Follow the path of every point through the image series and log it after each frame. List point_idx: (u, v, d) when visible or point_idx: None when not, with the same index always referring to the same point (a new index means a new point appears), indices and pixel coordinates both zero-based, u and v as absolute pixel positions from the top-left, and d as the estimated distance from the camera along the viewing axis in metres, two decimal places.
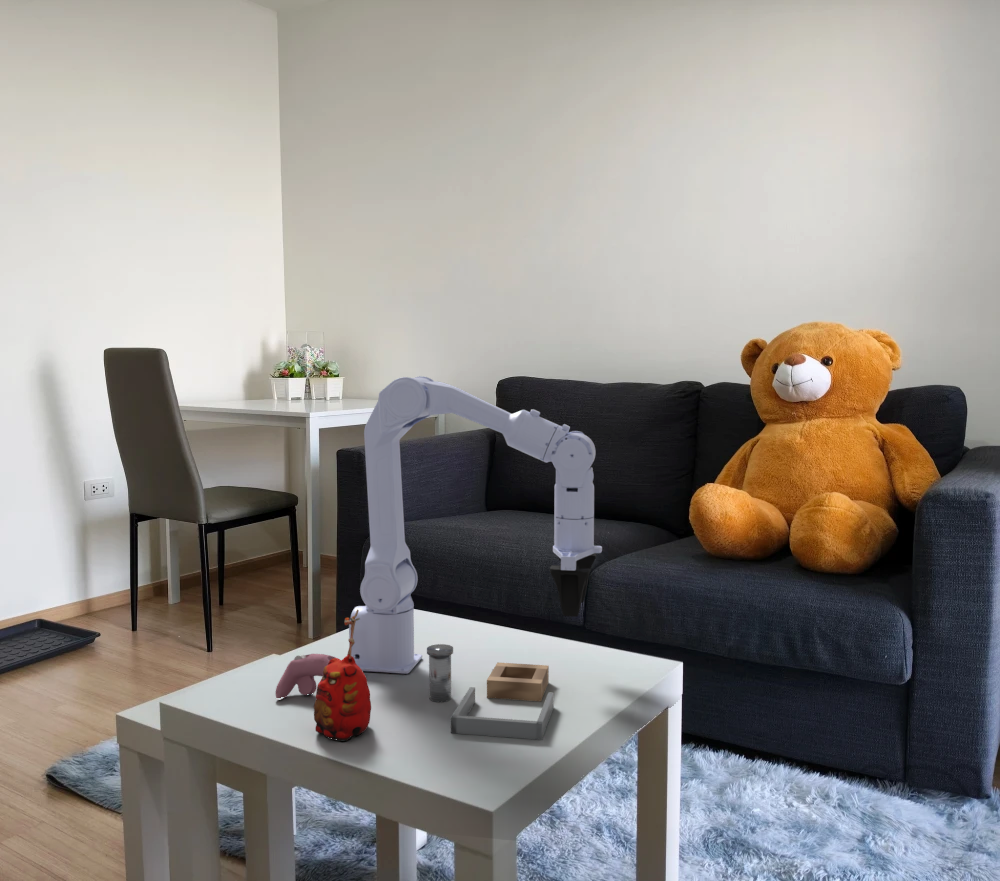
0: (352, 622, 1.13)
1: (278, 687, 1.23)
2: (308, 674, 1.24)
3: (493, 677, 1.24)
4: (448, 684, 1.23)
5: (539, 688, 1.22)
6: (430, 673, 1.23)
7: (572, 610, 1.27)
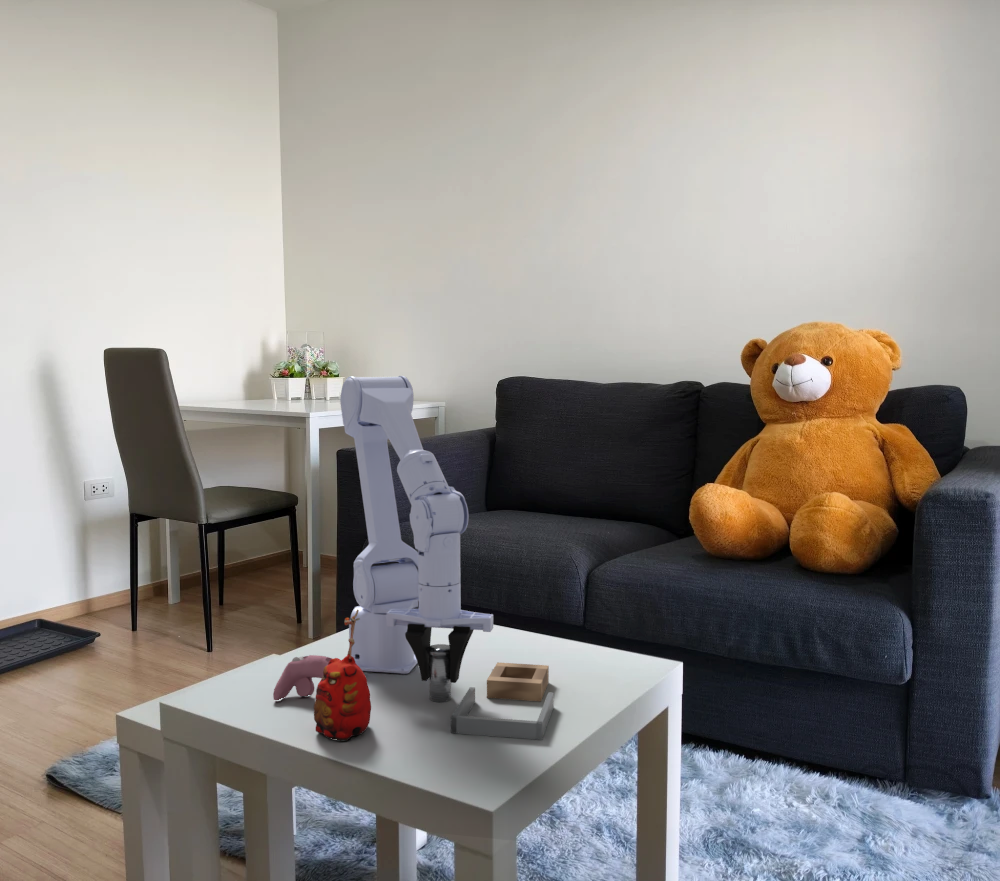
0: (352, 622, 1.13)
1: (276, 689, 1.22)
2: (306, 676, 1.24)
3: (493, 677, 1.24)
4: (448, 684, 1.22)
5: (539, 688, 1.22)
6: (430, 673, 1.23)
7: None
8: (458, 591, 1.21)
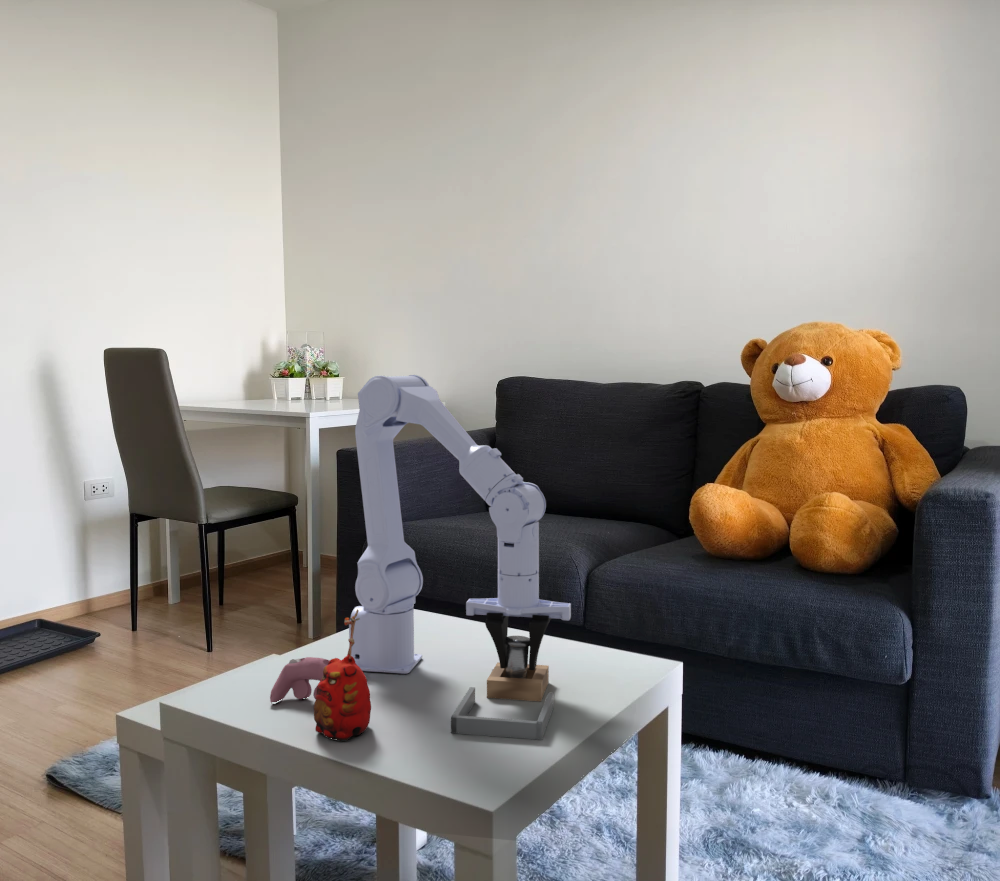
0: (352, 622, 1.13)
1: (273, 691, 1.21)
2: (303, 678, 1.23)
3: (493, 677, 1.24)
4: (525, 674, 1.25)
5: (539, 688, 1.22)
6: (507, 663, 1.25)
7: None
8: (537, 580, 1.24)
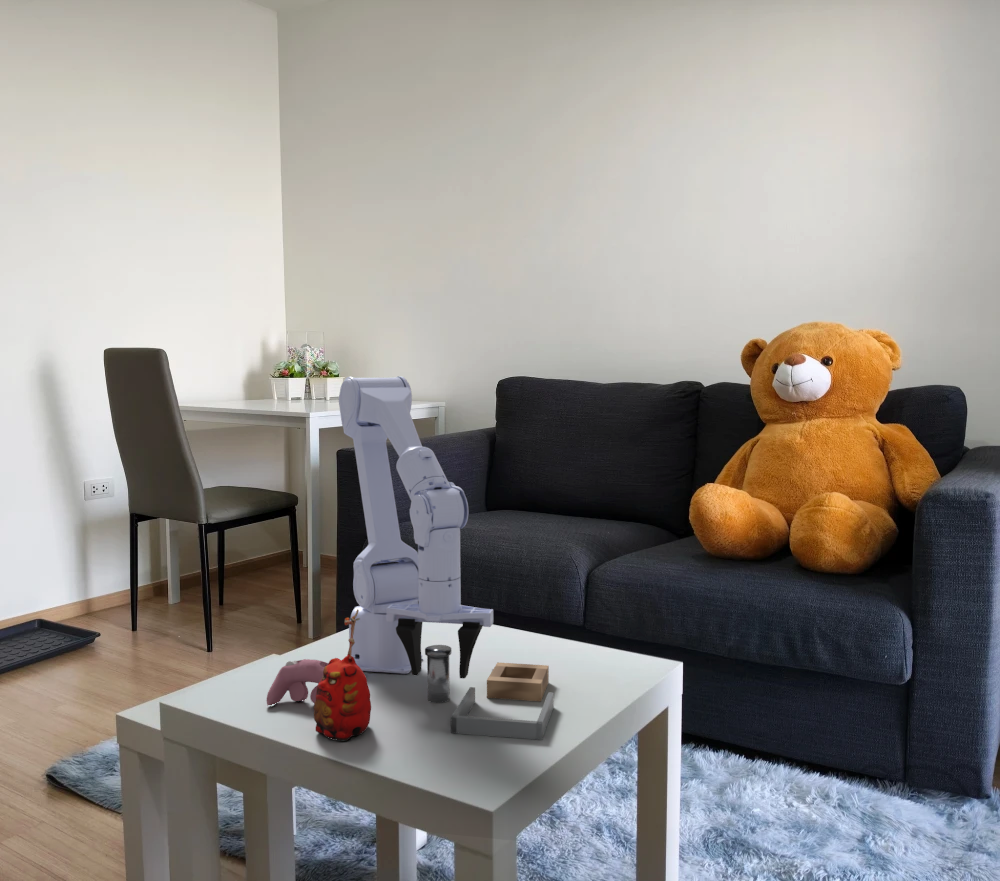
0: (352, 622, 1.13)
1: (269, 694, 1.20)
2: (300, 680, 1.22)
3: (493, 677, 1.24)
4: (446, 684, 1.22)
5: (539, 688, 1.22)
6: (428, 674, 1.22)
7: None
8: (458, 586, 1.21)
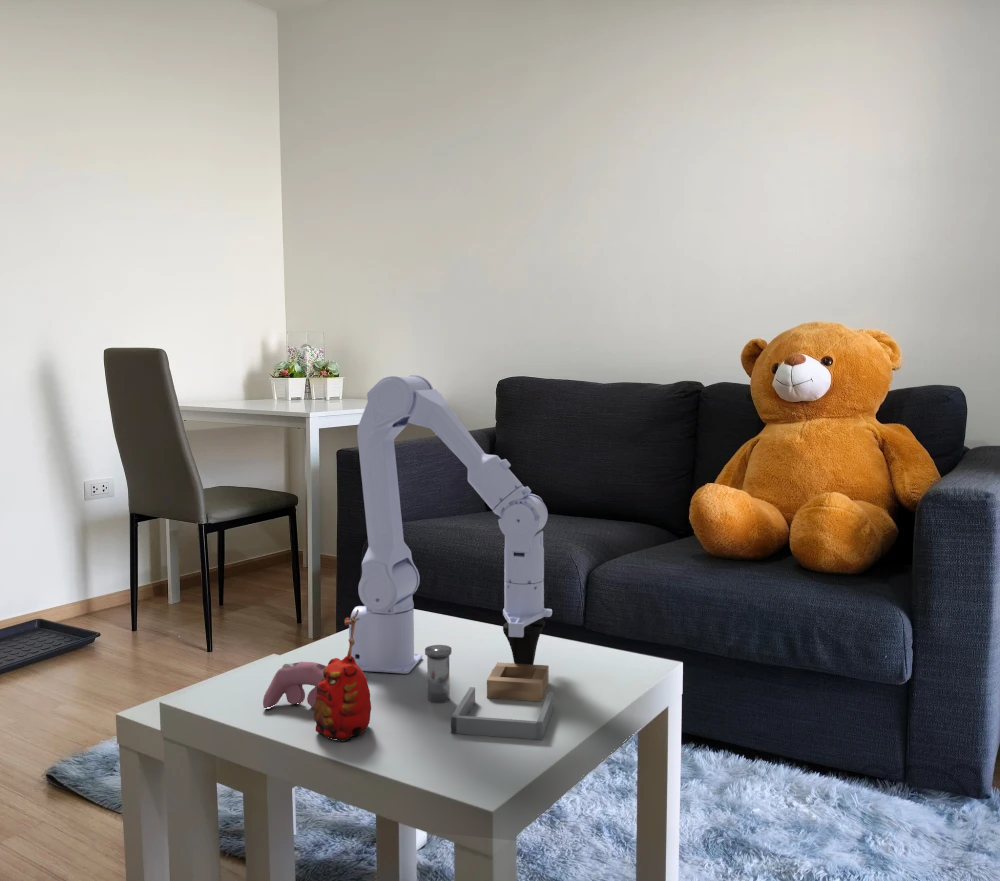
0: (352, 622, 1.13)
1: (266, 696, 1.19)
2: (296, 683, 1.21)
3: (493, 677, 1.24)
4: (446, 684, 1.22)
5: (539, 688, 1.22)
6: (428, 674, 1.22)
7: None
8: None
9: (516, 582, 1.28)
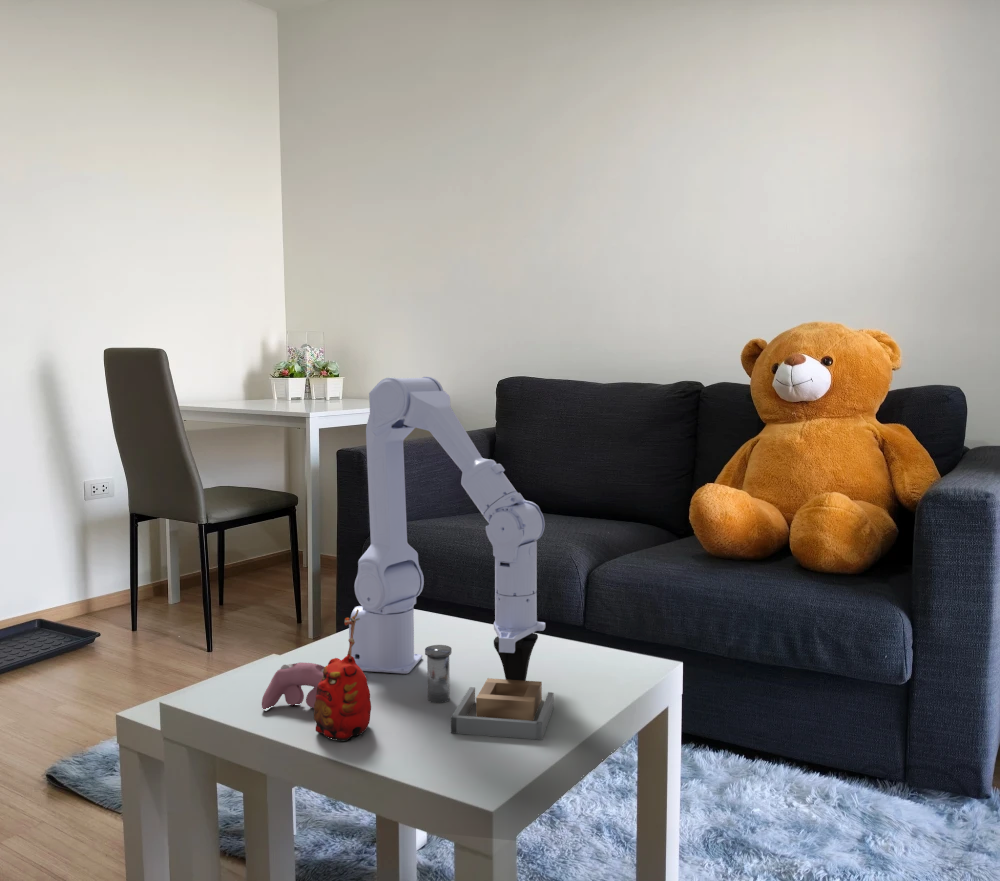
0: (352, 622, 1.13)
1: (264, 697, 1.19)
2: (295, 684, 1.21)
3: (483, 695, 1.18)
4: (446, 684, 1.22)
5: (531, 706, 1.15)
6: (428, 674, 1.22)
7: None
8: None
9: (502, 593, 1.21)
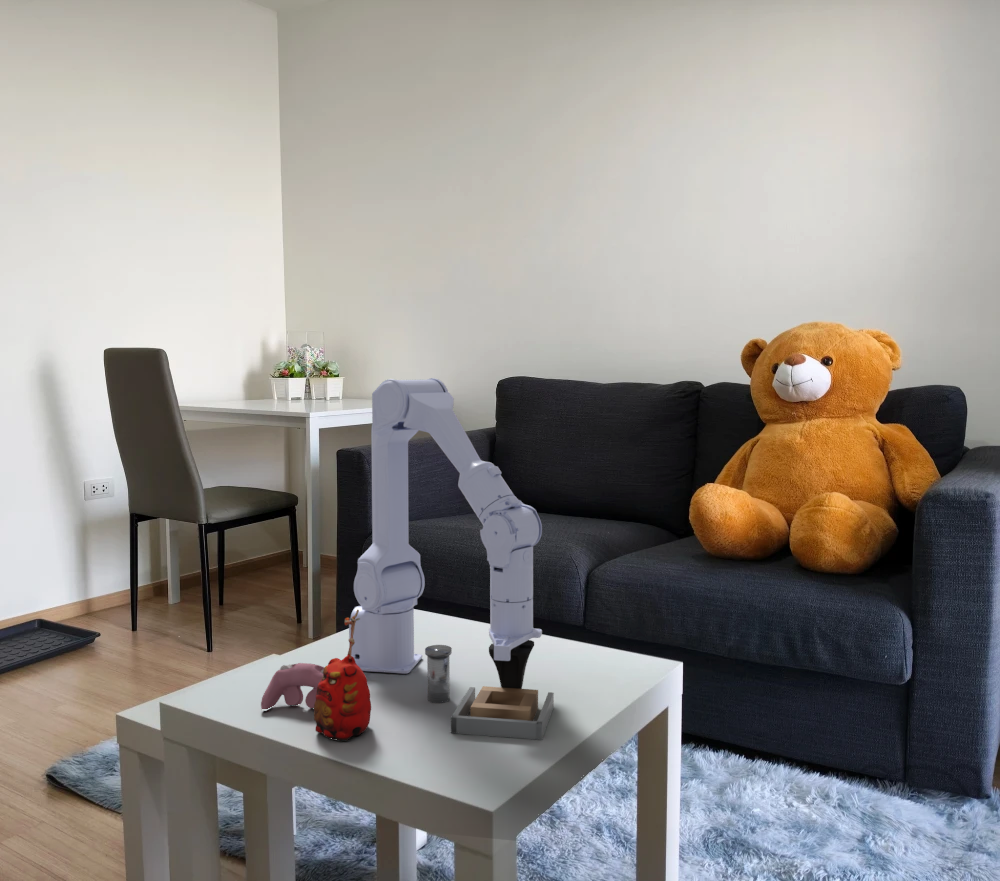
0: (352, 622, 1.13)
1: (264, 698, 1.19)
2: (295, 684, 1.20)
3: (478, 704, 1.15)
4: (446, 684, 1.22)
5: (527, 716, 1.12)
6: (428, 674, 1.22)
7: None
8: None
9: (495, 599, 1.18)
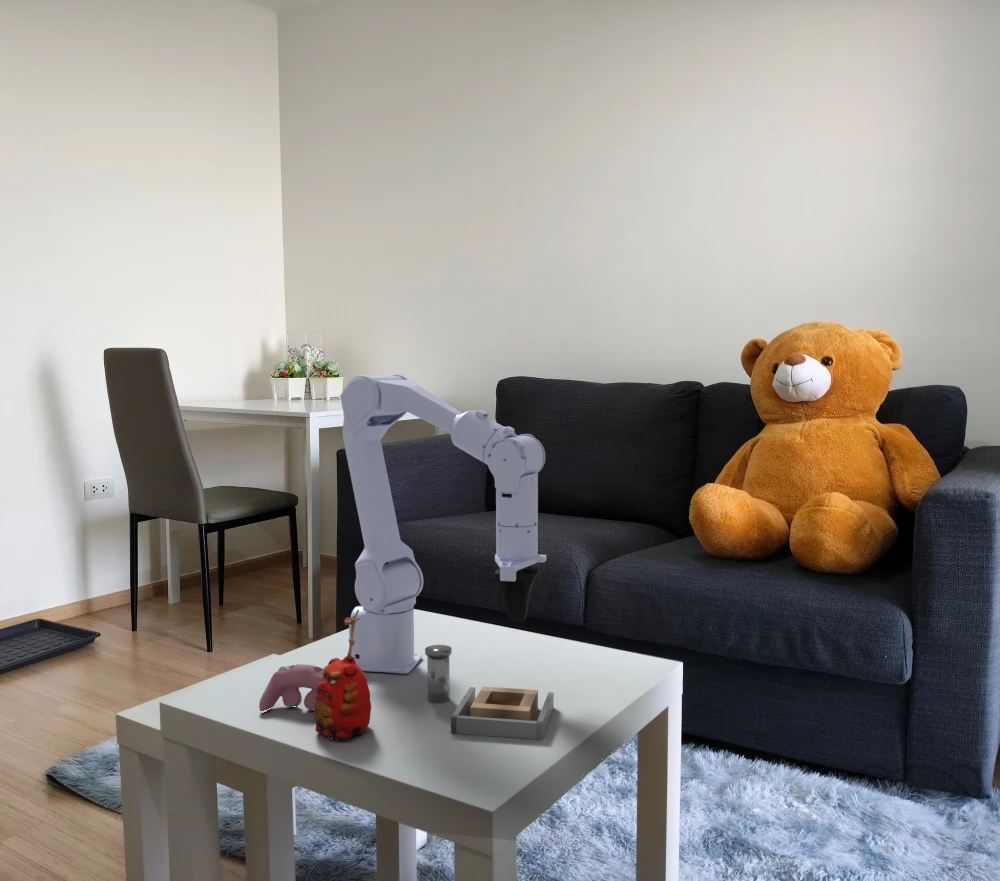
0: (352, 622, 1.13)
1: (262, 700, 1.18)
2: (293, 686, 1.20)
3: (477, 704, 1.15)
4: (446, 684, 1.22)
5: (527, 716, 1.12)
6: (428, 674, 1.22)
7: (518, 616, 1.24)
8: None
9: (504, 524, 1.21)
